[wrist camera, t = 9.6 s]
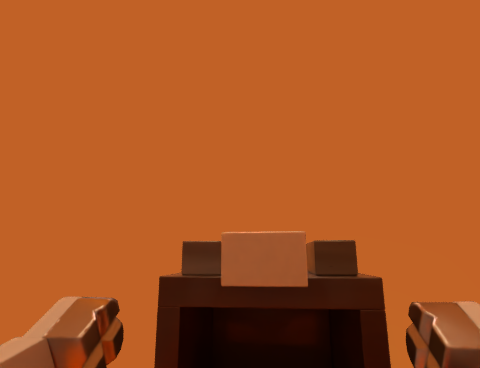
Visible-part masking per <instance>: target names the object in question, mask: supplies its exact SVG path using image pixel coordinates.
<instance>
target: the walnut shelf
mask: <svg viewBox="0 0 480 368" xmlns="http://www.w3.org/2000/svg"><path fill="white" fill-rule="evenodd" d="M221 245H222V242H221V241H183V250H182V273H177V274H171V275H166V276H160V278H159V297H158V306H159V307H158V312H157V331H156V349H155V367H154V368H391V364H390V354H389V344H388V334H387V323H386V313H385V304H384V294H383V283H382V278H380V277H375V276H369V275H365V274H360V273H358V269H357V256H356V245H355V241H354V240H351V241H350V240H348V241H346V240H338V241H336V240H333V241H332V240H331V241H313V242H310V243H307V244H306V255H307V276H308V287H245V286H221Z"/></svg>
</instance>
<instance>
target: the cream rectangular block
mask: <svg viewBox="0 0 480 368" xmlns="http://www.w3.org/2000/svg"><path fill="white" fill-rule="evenodd" d="M221 286H245V287H308V276H307V255H306V234H305V232H223V233H222V245H221Z"/></svg>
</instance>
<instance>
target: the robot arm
mask: <svg viewBox="0 0 480 368" xmlns="http://www.w3.org/2000/svg"><path fill="white" fill-rule="evenodd" d="M118 312H119V306H118V301H117V300H116V299H114V298H96V297H95V298H94V297H64V298H61V299H60V300H59V301H58V302H57V303H56V304H55V305H54V306H53V307H52V308H51V309H50V310H49V311H48V312H47V313H46V314H45V315H44V316H43V317H42V318H41V319H40V320H39V321H38V322H37V323H36V324H35V325H34V326H33V327H32V328H31V329H30V330H29V331H28V332H27V333H26V334H25V335H24V336H23V337H16V338H14V339H12V340H10V341H8V342H6V343H4V344H2V345H0V368H106V365H108V364H109V363H111V362H112V361H113V360H115V359H116V357H117V355H118V353H119V352H120V350H121V346H122V342H123V325H122V323H121V322H120V320H119V319H118V318H116V315H117V314H118ZM408 315H409V317H410V319H411V320H412V322H413V323H412V324H411V325H410V326H409V327H408V328H407V331H406V345H407V352H408V355H409V357H410V360H411V362H412V364H413V366H414V368H480V304H478V303H476V302H474V301H469V302H449V303H447V302H412V303H411V305H410V307H409V314H408Z"/></svg>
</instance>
